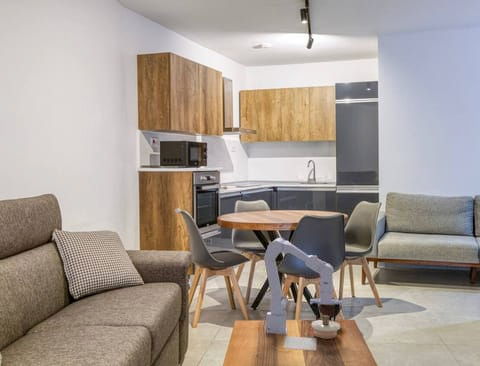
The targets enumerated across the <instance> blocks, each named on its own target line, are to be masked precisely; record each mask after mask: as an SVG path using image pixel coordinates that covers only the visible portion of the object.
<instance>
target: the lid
mask: <svg viewBox="0 0 480 366" xmlns="http://www.w3.org/2000/svg"><path fill="white" fill-rule="evenodd" d="M311 328H312V329H313V330H315V329H316V330H320V331H336V330H337V331H338V330H340V329H341V324H340V323H339V322H337V321H334V320H333V321H332V320H331V321H330V320H329V316H328V315H323V314H322V319H318V320H317V319H316V320H314V321H312V322H311Z"/></svg>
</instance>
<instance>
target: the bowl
mask: <svg viewBox="0 0 480 366" xmlns="http://www.w3.org/2000/svg"><path fill="white" fill-rule="evenodd" d="M337 332H338V330H336V331H320V330H316V329H314V336H315V337H316V338H319V339H325V340H328V339H329V340H330V339H331V340H332V339H334V338H336V337H337V335H338V333H337Z"/></svg>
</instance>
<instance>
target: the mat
mask: <svg viewBox="0 0 480 366" xmlns="http://www.w3.org/2000/svg"><path fill="white" fill-rule="evenodd" d="M317 338H318V337H301V336H288V335H287V336H285V338H284V344H283V349H289V350H290V349H292V350H306V351H307V350H308V351H317Z"/></svg>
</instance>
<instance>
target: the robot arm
mask: <svg viewBox="0 0 480 366" xmlns="http://www.w3.org/2000/svg"><path fill="white" fill-rule="evenodd" d="M281 253H282V254H291V255H292V256H294V257H296V258H298V259H299V260H301V261H303V262H304V264H305V266H306V267H308V268H309V269H311V270H312V271H314V272H316V273H318V274H319V276H320V280H319V298H310V299H309V305H311V307H312V309H313V312H314V313H315V318H316V321H317V320H319V307H318V306H319V305H320V304H326V305H334V317H332V319H333V321H334V322H336V317H337V316H338V315H337V312H338V310H339V308H340V306H341V307H342V306H343V300H340V299H335V298H334V299H335V300H334V299H332V297H333V291H334V290H333V289H334V287H333V286H334V285H333V284H334V282H333V279H334V277H333V274H334V267H333V266H332V265H331V264H330V263H329V262H328V263H327V262H326V261H323V260H321V259H319V258H318V255H316V254H315V255H313V254H311V255H308V254H307V253H305V252H304V251H303V250H301V249H300V248H299V247H297V246H295V245H294V244H293V243H291V242H290V241H289V240H286V239H284V238H283V237H277V238H275V239H274V240H273V241H271V242H270V243H269V244H268V245H267V249H265V254H264V256H263V260H264V265H265V270H266V275H267V279H268V285H269V289H270V306H269V309H270V311H269V312H266V319H265V323H266V324H265V328H266V329H265V330H266V331H265V333H267V334H279V335H287V332H288V327H287V311H286V308H287V306H288V301H287V299H286V298H285V295H284V292H283V291H282V287H281V282H280V281H281V280H280V276H279V272H278V268H277V262H276V259H277V257H278V256H279V255H280V254H281ZM336 315H337V316H336Z"/></svg>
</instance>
